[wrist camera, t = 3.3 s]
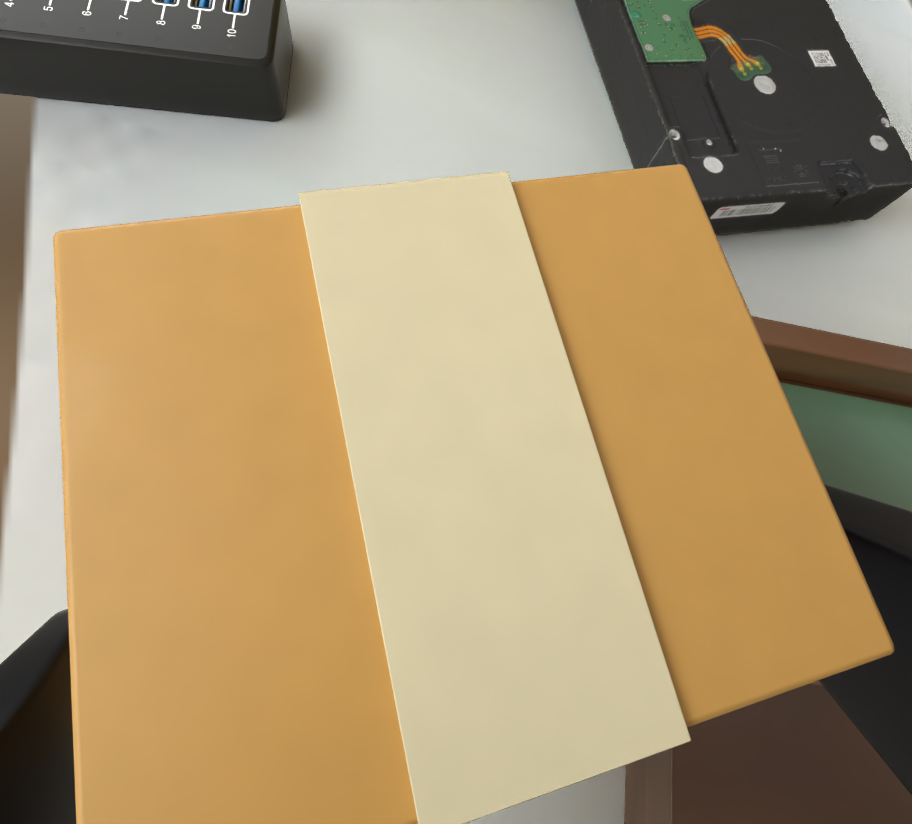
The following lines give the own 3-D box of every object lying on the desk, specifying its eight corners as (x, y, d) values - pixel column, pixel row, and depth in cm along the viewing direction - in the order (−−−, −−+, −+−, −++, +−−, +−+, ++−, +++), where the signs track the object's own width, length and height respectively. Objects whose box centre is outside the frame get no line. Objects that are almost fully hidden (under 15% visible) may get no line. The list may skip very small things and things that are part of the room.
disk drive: (863, 226, 22) (746, -21, 26) (929, 181, 20) (788, -87, 23) (654, 250, 20) (558, -21, 24) (694, 203, 18) (581, -93, 21)
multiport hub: (284, 122, 19) (271, 66, 17) (-146, 78, 18) (-221, 8, 15) (294, 38, 21) (283, -25, 19) (-106, -12, 19) (-170, -87, 17)
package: (508, 588, 16) (915, 658, 4) (327, 638, 14) (64, 970, 3) (472, 448, 17) (691, 151, 5) (302, 484, 16) (40, 217, 4)
